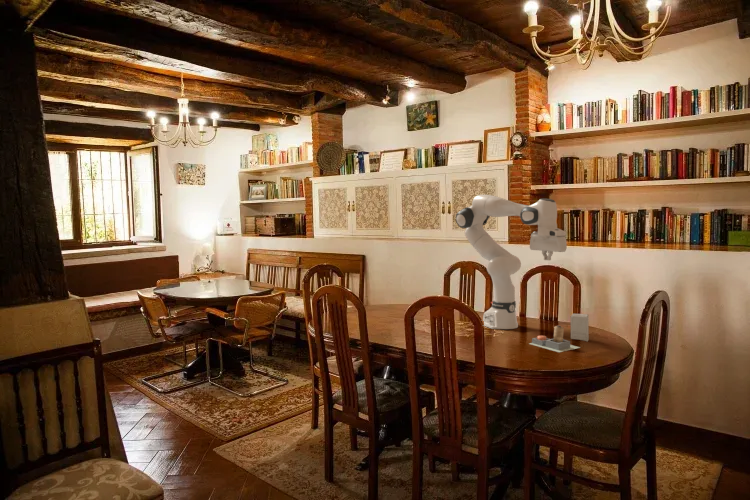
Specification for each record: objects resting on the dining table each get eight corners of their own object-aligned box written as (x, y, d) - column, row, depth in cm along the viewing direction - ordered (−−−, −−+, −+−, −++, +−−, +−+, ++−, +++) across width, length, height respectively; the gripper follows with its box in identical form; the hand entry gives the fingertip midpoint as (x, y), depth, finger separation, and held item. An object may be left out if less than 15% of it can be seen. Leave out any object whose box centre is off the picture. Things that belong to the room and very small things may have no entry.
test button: (535, 341, 245) (535, 336, 244) (541, 340, 247) (541, 335, 246) (542, 343, 241) (542, 338, 241) (548, 341, 243) (548, 336, 243)
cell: (551, 346, 237) (552, 325, 237) (555, 345, 240) (556, 324, 240) (560, 348, 234) (561, 326, 234) (564, 347, 237) (565, 326, 237)
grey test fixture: (528, 346, 245) (528, 337, 244) (549, 342, 251) (549, 333, 251) (559, 355, 229) (559, 345, 229) (580, 350, 236) (580, 340, 235)
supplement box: (588, 339, 254) (589, 314, 253) (586, 343, 248) (586, 317, 247) (572, 338, 258) (573, 313, 257) (570, 341, 252) (570, 315, 251)
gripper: (526, 231, 261) (526, 259, 262) (559, 232, 243) (559, 262, 244) (535, 231, 264) (535, 258, 265) (568, 232, 246) (568, 261, 247)
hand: (547, 260), depth 255 cm, fingers closed
